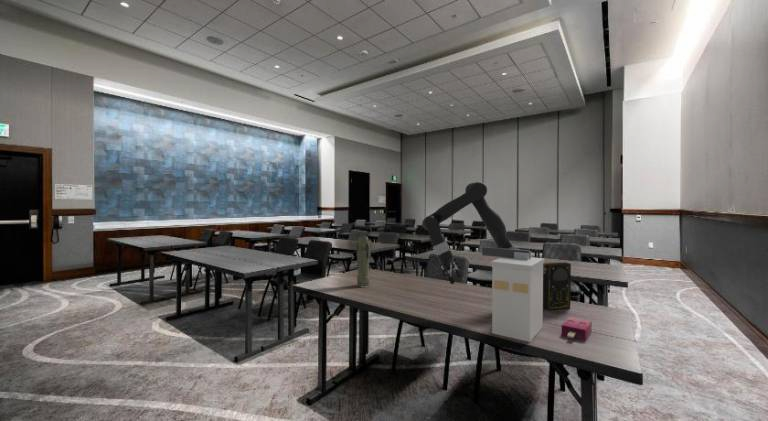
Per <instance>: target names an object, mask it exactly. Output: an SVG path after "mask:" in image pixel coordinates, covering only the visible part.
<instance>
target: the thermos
mask: <svg viewBox="0 0 768 421" xmlns="http://www.w3.org/2000/svg"><path fill="white" fill-rule="evenodd" d="M369 242H370V240H369V237H368V236H367V235H361V236H358V240H357V243H356V258H357V259H356V262H357V276H356V282H357V285H358V286H364V287H363V288H366V287H365V286H369V285H370V282H371V281H370V280H371V276H370V258H371V244H370V243H369ZM358 286H357V287H358ZM369 287H370V286H369Z"/></svg>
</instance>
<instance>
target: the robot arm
mask: <svg viewBox="0 0 768 421" xmlns="http://www.w3.org/2000/svg"><path fill="white" fill-rule="evenodd" d="M487 194H488V187H487V185H486V184H485V183H484V182H481V181H476V182H472V183H469V184H467V185H466V186H465V191H464V193H462V194H461V195H460V196H458V197H456V198H454V199H452V200H450V201H449V202H446V203H445V204H443V205H442V206H441V207H439V208H438V209H437V210H436V211H435V212H433V213H431V214H429V215H428V216H426V217H425V218H423V220H422V222H421V226H422V228H423V229H424V230H426V231H427V232H428V235H429V240H430V243H431V244H432V247H433V251H434V252H435V254H436V256H437V259H438V261H439V263H440V264H442V265H441V266H440V270H441V273H442V275H443V277H444V278H447V279H448V281H449V284H450V285H454V284H455V282H456V281H455V279H454V278H453V276H452V272H453V271H454V273H455V275H456V276H457V278H458V280H459V279H462V278H463V275H462V273H461V271H460V269H461V265H460V263H459V261H458V259H457V257H454V255H453V253H452V251H451V248H450V246H449V244H448V243H447V241H446V239H445V237H444V234H443V233H442V230H441V226H440V224H441V223H443V222H444V221H447V220H448V219H449V218H451V217H452V216H454V215H455V214H456V213H458V212H460V211H462V209H464V208H466V207H467V206H468V205H470V204H472V205H473V207H474V208H475V210H476V211H477V213H478V215H479V217H480V219H481V220H482V222H483V224H484V226H485V227H486V230H487V231H488V232H489V235H490V236H491V238H492V240H493V241H494V242H495V244H496V246H497V248H505V249H518V250H521V249H520V248H517V247H516V248H515V246H514V245H513V244H512V243H511V241H510V240H509V238H508V237H509V236H508V235H507V233H508V232H507V228H506V224H505V222H504V221H503V219H502V217H501V216H500V214H499V213H498V212H497V211H496V210H495V209H494V208H493V207H492V206H491V205H490V204H489V203H488V202H487V200H486V198H485V196H487Z"/></svg>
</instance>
